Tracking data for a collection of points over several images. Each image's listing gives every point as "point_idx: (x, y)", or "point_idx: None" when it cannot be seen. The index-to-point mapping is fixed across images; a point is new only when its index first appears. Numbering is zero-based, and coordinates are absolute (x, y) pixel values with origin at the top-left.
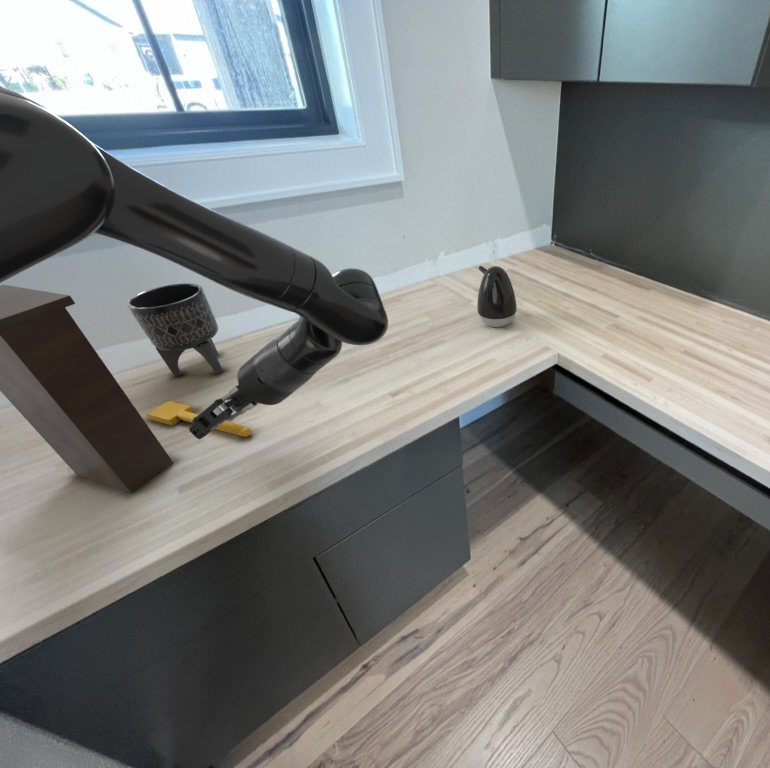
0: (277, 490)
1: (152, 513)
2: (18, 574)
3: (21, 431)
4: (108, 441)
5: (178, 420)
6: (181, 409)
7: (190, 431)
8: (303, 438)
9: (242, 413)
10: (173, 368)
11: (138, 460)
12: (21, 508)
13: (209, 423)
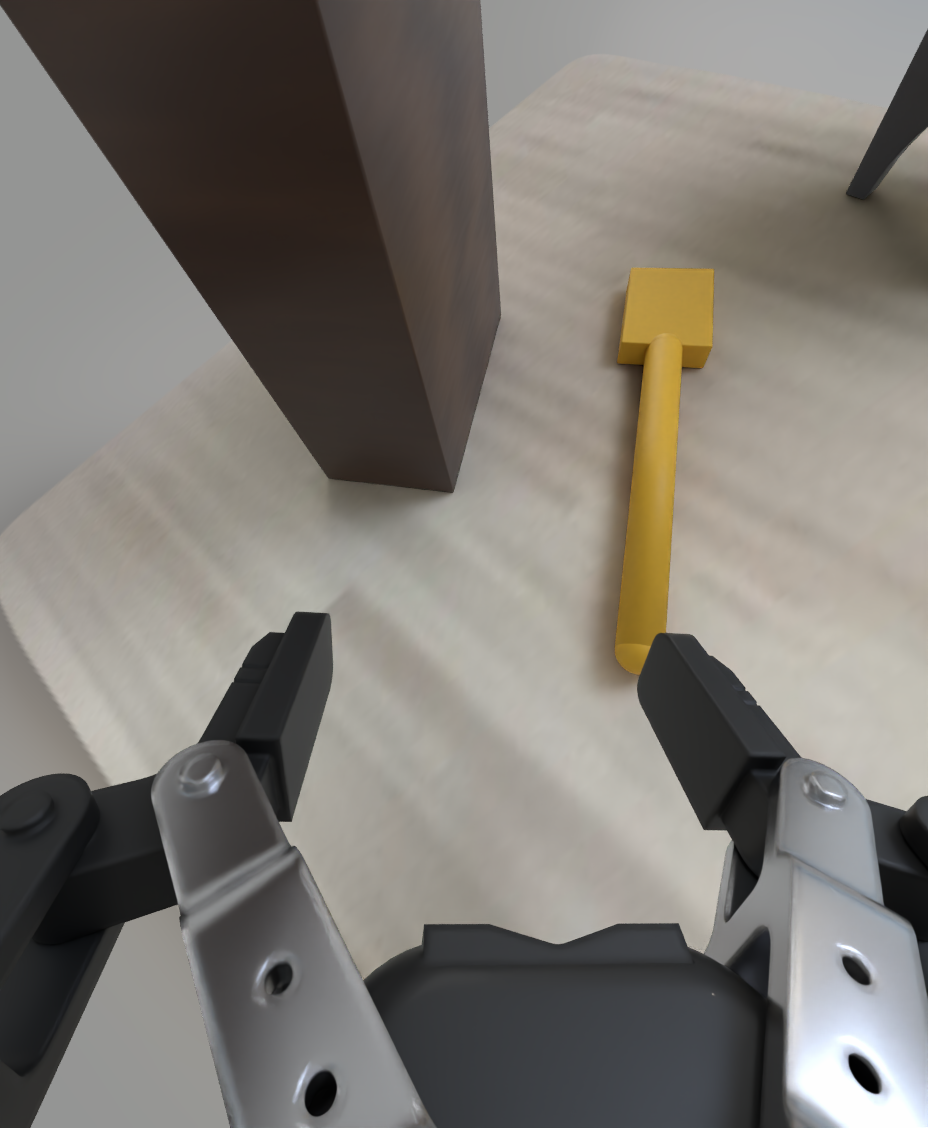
0: None
1: (249, 591)
2: (120, 444)
3: (521, 119)
4: (259, 318)
5: (642, 361)
6: (684, 334)
7: (264, 642)
8: None
9: (646, 709)
10: (878, 154)
11: (356, 430)
12: None
13: (102, 915)
